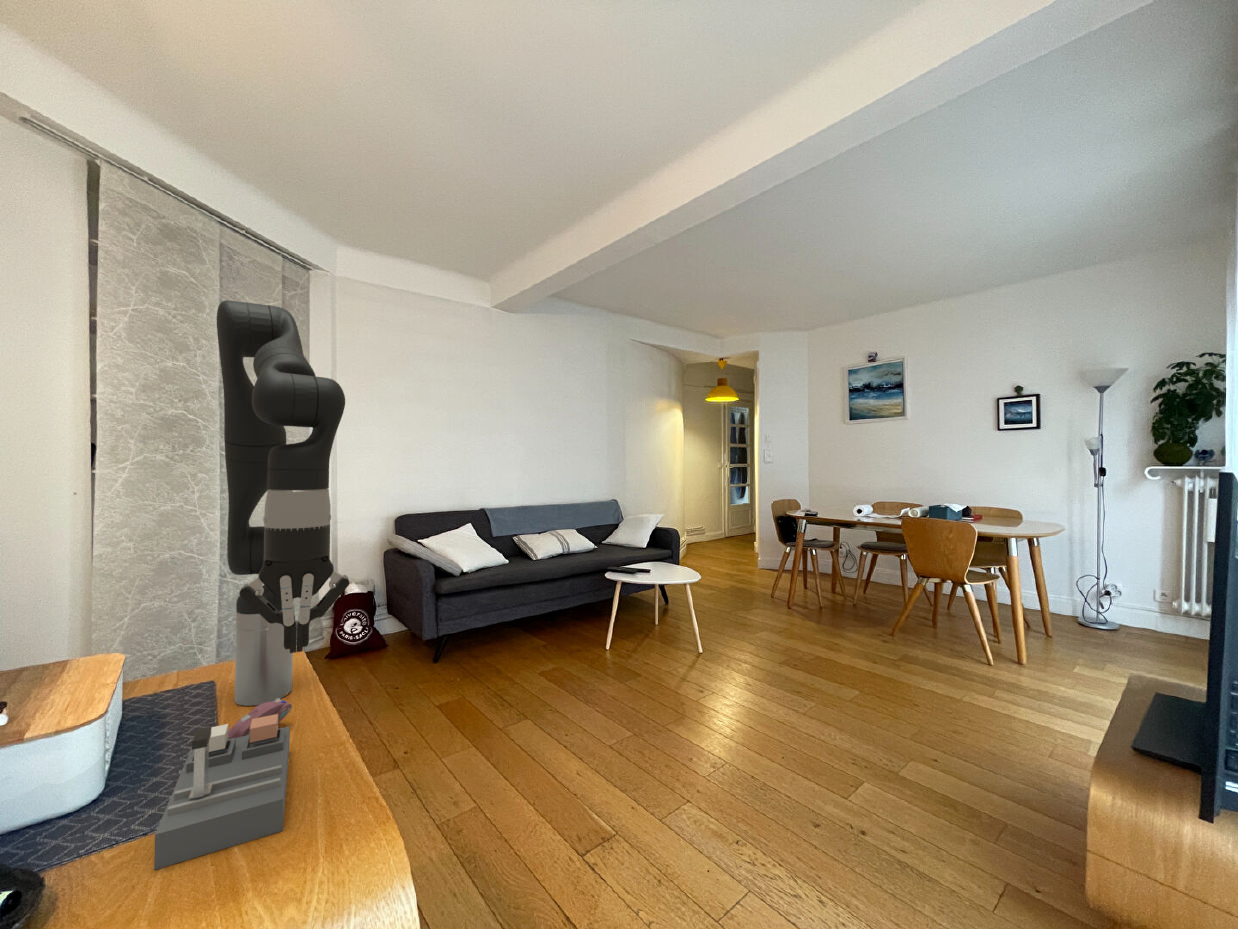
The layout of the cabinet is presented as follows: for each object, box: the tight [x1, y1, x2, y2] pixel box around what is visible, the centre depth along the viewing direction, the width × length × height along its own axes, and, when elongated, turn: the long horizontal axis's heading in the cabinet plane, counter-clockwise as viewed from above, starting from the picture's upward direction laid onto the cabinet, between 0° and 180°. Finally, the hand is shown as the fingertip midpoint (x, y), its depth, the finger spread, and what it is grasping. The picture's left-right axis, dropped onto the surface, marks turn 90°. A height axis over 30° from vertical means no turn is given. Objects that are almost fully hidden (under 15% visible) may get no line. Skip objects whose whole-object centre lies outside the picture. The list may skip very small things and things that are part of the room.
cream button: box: [209, 723, 229, 752], centre depth 71 cm, size 3×3×2 cm
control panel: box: [153, 725, 291, 871], centre depth 68 cm, size 20×12×5 cm, turn 31°
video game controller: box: [228, 698, 293, 739], centre depth 83 cm, size 10×5×7 cm, turn 169°
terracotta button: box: [250, 714, 279, 743], centre depth 74 cm, size 3×3×2 cm
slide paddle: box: [189, 726, 213, 801], centre depth 62 cm, size 3×2×8 cm, turn 32°
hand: (296, 650), depth 67 cm, fingers closed
